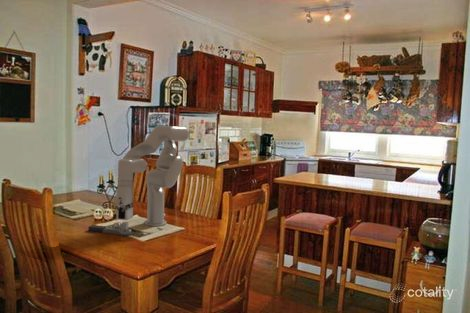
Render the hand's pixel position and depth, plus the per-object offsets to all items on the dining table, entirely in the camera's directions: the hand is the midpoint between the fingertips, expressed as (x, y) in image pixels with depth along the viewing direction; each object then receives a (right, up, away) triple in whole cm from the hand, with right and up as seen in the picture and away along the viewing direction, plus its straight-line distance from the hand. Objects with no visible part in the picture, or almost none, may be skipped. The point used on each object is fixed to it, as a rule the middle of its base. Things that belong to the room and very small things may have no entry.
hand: (124, 216), depth 196 cm
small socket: (-7, -8, +9) cm, 14 cm away
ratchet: (-9, -9, +3) cm, 13 cm away
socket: (0, -1, 0) cm, 1 cm away
